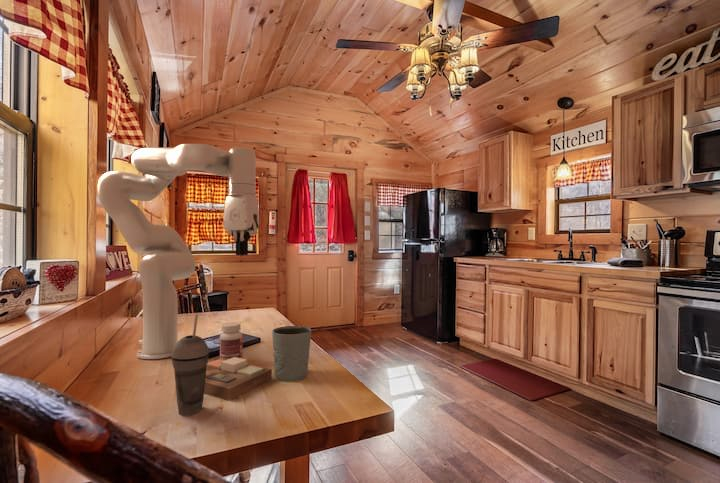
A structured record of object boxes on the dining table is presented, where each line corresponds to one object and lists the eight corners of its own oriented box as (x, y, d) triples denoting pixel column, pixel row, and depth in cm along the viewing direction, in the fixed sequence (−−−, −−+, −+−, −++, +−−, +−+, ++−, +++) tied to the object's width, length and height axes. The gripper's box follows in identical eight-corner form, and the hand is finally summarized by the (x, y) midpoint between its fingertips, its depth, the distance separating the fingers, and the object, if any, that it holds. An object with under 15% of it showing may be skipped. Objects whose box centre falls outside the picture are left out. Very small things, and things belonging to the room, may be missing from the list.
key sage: (236, 379, 92) (236, 370, 92) (249, 373, 96) (249, 365, 96) (250, 382, 90) (250, 374, 90) (263, 376, 94) (263, 368, 94)
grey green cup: (264, 379, 95) (264, 332, 95) (285, 366, 105) (285, 323, 105) (299, 384, 92) (299, 336, 92) (317, 371, 101) (318, 327, 101)
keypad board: (175, 385, 91) (175, 372, 91) (221, 367, 104) (221, 356, 104) (229, 400, 83) (229, 386, 83) (271, 379, 95) (271, 367, 95)
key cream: (220, 369, 95) (220, 361, 95) (234, 364, 99) (234, 357, 99) (233, 372, 93) (233, 364, 93) (247, 367, 97) (247, 359, 97)
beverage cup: (179, 403, 81) (179, 311, 81) (213, 402, 82) (214, 311, 82) (164, 419, 74) (164, 318, 74) (202, 418, 75) (202, 318, 75)
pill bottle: (245, 364, 106) (245, 324, 106) (222, 368, 103) (222, 327, 103) (238, 358, 112) (239, 320, 112) (217, 362, 108) (217, 323, 108)
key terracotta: (205, 371, 97) (205, 363, 97) (219, 366, 101) (219, 358, 101) (218, 374, 95) (218, 366, 95) (231, 369, 99) (231, 361, 99)
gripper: (213, 191, 108) (213, 254, 108) (252, 188, 101) (251, 256, 101) (233, 194, 115) (233, 254, 115) (270, 191, 108) (270, 255, 108)
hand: (241, 255), depth 108 cm, fingers closed
